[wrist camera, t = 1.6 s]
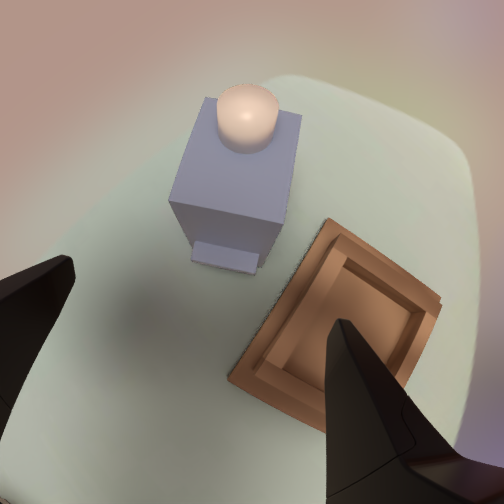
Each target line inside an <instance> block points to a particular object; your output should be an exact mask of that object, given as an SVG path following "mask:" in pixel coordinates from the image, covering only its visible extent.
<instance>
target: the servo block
mask: <svg viewBox="0 0 504 504" xmlns="http://www.w3.org/2000/svg"><path fill="white" fill-rule="evenodd" d="M301 119H302V115H299V114H295V113H291V112H286V111H282V110H279V104H278V101H277V99H276V97H275V96H274V95H273V94H272V93H271V92H270V91H269V90H267V89H265V88H263V87H261V86H257V85H252V84H242V85H236V86H233V87H231V88H229V89H227V90H225V91H224V92H223V93H222V94H221V95H220V97H219V99H216V98H208V97H205V99H204V102H203V104H202V107H201V109H200V112H199V114H198V117H197V120H196V122H195V125H194V127H193V130H192V132H191V135H190V138H189V141H188V143H187V146H186V149H185V152H184V154H183V157H182V160H181V163H180V166H179V169H178V172H177V175H176V178H175V181H174V184H173V187H172V190H171V193H170V196H169V199H168V201H169V203H170V205H171V207H172V209H173V211H174V213H175V215H176V217H177V219H178V221H179V223H180V225H181V227H182V229H183V231H184V233H185V235H186V237H187V239H188V241H189V243H190V245H191V247H192V249H193V252H192V256H191V261H192V262H195V263H200V264H204V265H209V266H213V267H218V268H222V269H227V270H231V271H236V272H241V273H245V274H250V275H255V273H256V268H257V267H261V268H262V266H263V264H264V262H265V260H266V258H267V256H268V254H269V252H270V250H271V248H272V246H273V244H274V242H275V240H276V238H277V236H278V234H279V232H280V230H281V228H282V226H283V224H284V219H285V214H286V208H287V202H288V197H289V191H290V185H291V180H292V174H293V168H294V162H295V156H296V150H297V144H298V138H299V132H300V125H301Z"/></svg>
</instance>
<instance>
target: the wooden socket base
mask: <svg viewBox="0 0 504 504" xmlns="http://www.w3.org/2000/svg"><path fill="white" fill-rule="evenodd" d="M440 299H441V297H440V296H439V295H438V294H436V293H435V292H434V291H432V290H431V289H430V288H428V287H427V286H426V285H425V284H423V283H422V282H421V281H419V280H418V279H416V278H415V277H414V276H412V275H411V274H410V273H408V272H407V271H406V270H404V269H403V268H402V267H400V266H399V265H397V264H396V263H395V262H393V261H392V260H390V259H389V258H388V257H386V256H385V255H383V254H382V253H381V252H379V251H378V250H376V249H375V248H373V247H372V246H370V245H369V244H368V243H366V242H365V241H363V240H362V239H360V238H359V237H357V236H356V235H354V234H353V233H351V232H350V231H348V230H347V229H345V228H344V227H342V226H341V225H339V224H338V223H336V222H335V221H333V220H332V219H330V218H328V219H327V220H326V222H325V223H324V225H323V227H322V228H321V230H320V232H319V234H318V235H317V237H316V239H315V240H314V242H313V244H312V245H311V247H310V249H309V251H308V252H307V254H306V256H305V257H304V259H303V261H302V262H301V264H300V266H299V267H298V269H297V271H296V272H295V274H294V275H293V277H292V279H291V280H290V282H289V284H288V285H287V287H286V288H285V290H284V292H283V293H282V295H281V297H280V298H279V300H278V301H277V303H276V305H275V306H274V308H273V309H272V311H271V312H270V314H269V316H268V317H267V319H266V320H265V322H264V324H263V325H262V327H261V328H260V330H259V331H258V333H257V334H256V336H255V337H254V339H253V341H252V342H251V344H250V345H249V347H248V348H247V350H246V351H245V353H244V354H243V356H242V357H241V359H240V360H239V362H238V363H237V365H236V366H235V368H234V369H233V371H232V372H231V374H230V375H229V377H228V378H227V380H228V381H229V382H231V383H232V384H234V385H236V386H237V387H239V388H241V389H243V390H244V391H246V392H248V393H249V394H251V395H253V396H255V397H256V398H258V399H260V400H262V401H263V402H265V403H267V404H269V405H271V406H273V407H274V408H276V409H278V410H280V411H282V412H284V413H286V414H288V415H289V416H291V417H293V418H295V419H297V420H299V421H301V422H303V423H305V424H307V425H309V426H311V427H313V428H315V429H317V430H320V431H322V432H324V433H326V415H325V390H324V378H325V362H326V344H327V337H328V335H329V333H330V331H331V329H332V327H333V325H334V323H335V321H336V319H338V318H343V319H348V320H350V321H351V322H352V323H353V324H354V326H355V327H356V328H357V329H358V331H359V332H360V333H361V335H362V336H363V337H364V338H365V340H366V341H367V342H368V343H369V345H370V346H371V347H372V349H373V350H374V351H375V352H376V354H377V355H378V356H379V358H380V359H381V360H382V361H383V363H384V364H385V365H386V367H387V368H388V369H389V371H390V372H391V373H392V374H393V376H394V377H395V378H396V380H397V381H398V382H399V384H400V385H401V386H402V388H403V389H404V387H405V385H406V383H407V381H408V380H409V378H410V376H411V374H412V372H413V370H414V368H415V366H416V364H417V362H418V360H419V358H420V356H421V354H422V352H423V350H424V347H425V345H426V343H427V341H428V339H429V336H430V334H431V332H432V330H433V327H434V325H435V322H436V320H437V318H438V315H439V313H440V310H441V308H442V304H440V303H439V302H440Z"/></svg>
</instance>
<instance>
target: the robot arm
mask: <svg viewBox="0 0 504 504" xmlns="http://www.w3.org/2000/svg"><path fill="white" fill-rule="evenodd" d="M75 279H76V276H75V270H74V264H73V260H72V258H71V257H69V256H66V255H59V256H57V257H54V258H52V259H49V260H47V261H44V262H42V263H39V264H37V265H35V266H32V267H30V268H28V269H25V270H23V271H21V272H18V273H16V274H14V275H11V276H9V277H7V278H4V279H2V280H0V440H1V437H2V435H3V432H4V429H5V427H6V424H7V422H8V419H9V417H10V414H11V412H12V409H13V407H14V404H15V402H16V400H17V397H18V395H19V393H20V391H21V388H22V386H23V384H24V382H25V380H26V378H27V375H28V373H29V371H30V369H31V367H32V365H33V363H34V361H35V359H36V357H37V355H38V353H39V351H40V350H41V348H42V346H43V344H44V342H45V340H46V338H47V336H48V335H49V333H50V331H51V329H52V327H53V326H54V324H55V322H56V320H57V318H58V317H59V315H60V313H61V310H62V308H63V306H64V304H65V302H66V300H67V297H68V295H69V293H70V291H71V289H72V287H73V285H74V283H75ZM324 390H325V415H326V498H327V499H326V504H504V468H502V467H497V466H492V465H489V464H485V463H481V462H477V461H473V460H470V459H467V458H465V457H463V456H461V455H460V454H458V453H457V452H456V451H455V450H454V449H453V448H452V447H451V446H450V445H449V443H448V442H447V441H446V440H445V439H444V438H443V437H442V436H441V434H440V433H439V432H438V431H437V430H436V429H435V428H434V427H433V425H432V424H431V423H430V422H429V421H428V420H427V418H426V417H425V416H424V415H423V414H422V412H421V411H420V410H419V409H418V407H417V406H416V405H415V403H414V402H413V401H412V399H411V398H410V397H409V396H408V395H407V393H406V392H405V390H404V389H403V388H402V386H401V385H400V384H399V382H398V381H397V380H396V378H395V377H394V376H393V374H392V373H391V372H390V371H389V369H388V368H387V367H386V365H385V364H384V363H383V361H382V360H381V359H380V358H379V356H378V355H377V354H376V352H375V351H374V350H373V349H372V347H371V346H370V345H369V343H368V342H367V341H366V340H365V338H364V337H363V336H362V335H361V333H360V332H359V331H358V329H357V328H356V327H355V326H354V324H353V323H352V322H351V321H350V320H348V319H343V318H338V319H336V321H335V323H334V325H333V327H332V329H331V331H330V333H329V335H328V337H327V344H326V362H325V378H324ZM0 504H9V503H8V502H6V501H5V500H4V499H2V498H1V497H0Z"/></svg>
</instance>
